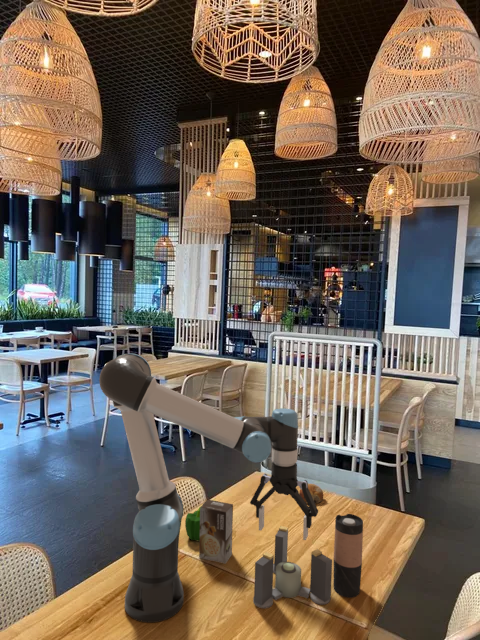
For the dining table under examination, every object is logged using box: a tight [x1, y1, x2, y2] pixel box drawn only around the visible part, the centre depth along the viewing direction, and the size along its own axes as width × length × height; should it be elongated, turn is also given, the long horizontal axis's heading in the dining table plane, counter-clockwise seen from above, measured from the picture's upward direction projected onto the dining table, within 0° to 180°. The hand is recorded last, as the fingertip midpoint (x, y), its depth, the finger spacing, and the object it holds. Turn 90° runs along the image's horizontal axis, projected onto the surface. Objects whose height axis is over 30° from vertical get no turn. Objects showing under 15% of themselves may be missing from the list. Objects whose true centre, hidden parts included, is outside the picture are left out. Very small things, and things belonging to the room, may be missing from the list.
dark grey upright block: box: [252, 551, 275, 609], centre depth 117 cm, size 5×5×12 cm
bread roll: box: [298, 482, 324, 505], centre depth 182 cm, size 10×10×8 cm
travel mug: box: [333, 513, 364, 599], centre depth 123 cm, size 8×8×20 cm
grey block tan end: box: [273, 525, 289, 575], centre depth 131 cm, size 5×5×12 cm
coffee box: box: [198, 499, 234, 565], centre depth 138 cm, size 9×6×16 cm
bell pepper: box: [185, 507, 200, 542], centre depth 149 cm, size 8×8×10 cm
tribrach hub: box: [272, 561, 311, 601], centre depth 123 cm, size 12×11×7 cm
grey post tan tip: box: [309, 548, 333, 606], centre depth 119 cm, size 5×5×12 cm
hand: (283, 533), depth 131 cm, fingers open, 13 cm apart
